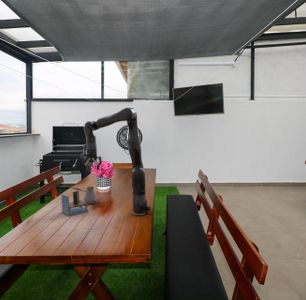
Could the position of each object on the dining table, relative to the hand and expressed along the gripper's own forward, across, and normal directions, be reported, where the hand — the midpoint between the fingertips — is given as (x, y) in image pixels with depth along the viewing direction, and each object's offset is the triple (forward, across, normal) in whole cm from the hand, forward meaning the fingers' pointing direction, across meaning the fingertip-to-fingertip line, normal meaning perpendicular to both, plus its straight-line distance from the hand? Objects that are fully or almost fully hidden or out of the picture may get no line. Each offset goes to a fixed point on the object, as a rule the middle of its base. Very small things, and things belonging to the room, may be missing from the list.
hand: (92, 170), depth 191 cm
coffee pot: (+30, +12, -15) cm, 36 cm away
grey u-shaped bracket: (+30, +13, +4) cm, 33 cm away
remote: (+24, +12, +3) cm, 27 cm away
